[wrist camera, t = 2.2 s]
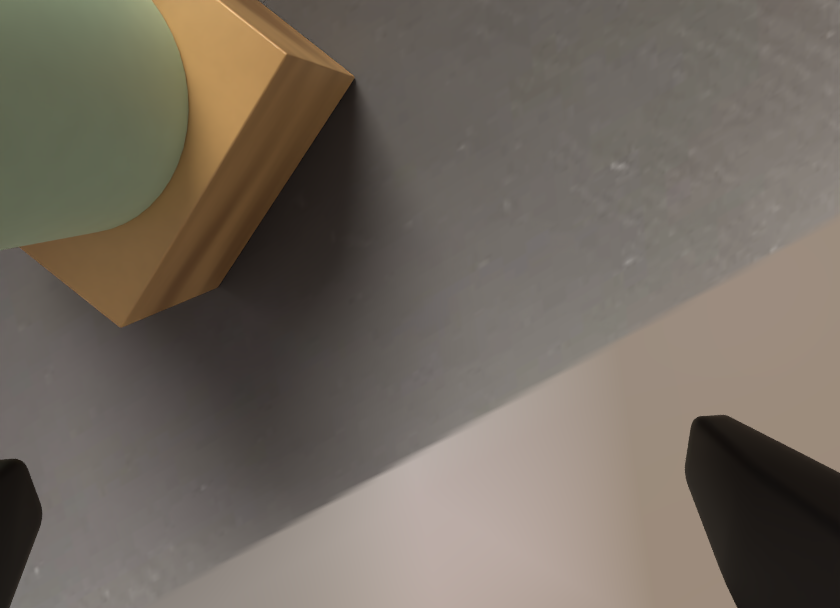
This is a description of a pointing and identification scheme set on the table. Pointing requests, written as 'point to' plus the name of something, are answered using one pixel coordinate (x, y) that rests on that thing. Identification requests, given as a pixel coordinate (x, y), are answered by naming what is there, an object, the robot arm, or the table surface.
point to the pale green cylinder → (85, 115)
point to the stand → (209, 160)
